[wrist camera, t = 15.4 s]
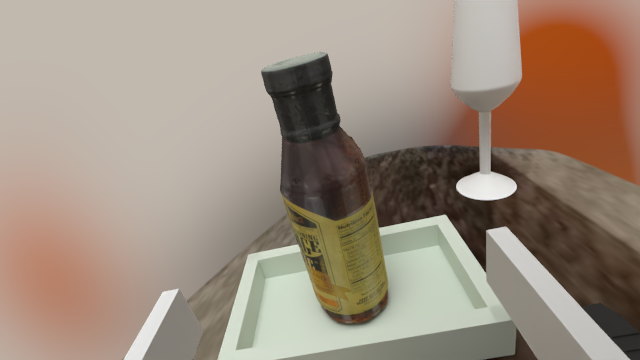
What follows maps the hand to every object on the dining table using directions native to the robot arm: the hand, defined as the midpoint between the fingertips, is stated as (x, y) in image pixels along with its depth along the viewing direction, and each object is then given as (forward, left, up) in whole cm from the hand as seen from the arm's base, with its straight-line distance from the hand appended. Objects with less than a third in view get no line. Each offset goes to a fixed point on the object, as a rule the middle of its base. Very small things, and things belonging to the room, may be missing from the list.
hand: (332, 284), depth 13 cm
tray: (0, -10, -12) cm, 16 cm away
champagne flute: (-18, -25, -13) cm, 33 cm away
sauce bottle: (0, -9, -12) cm, 15 cm away
